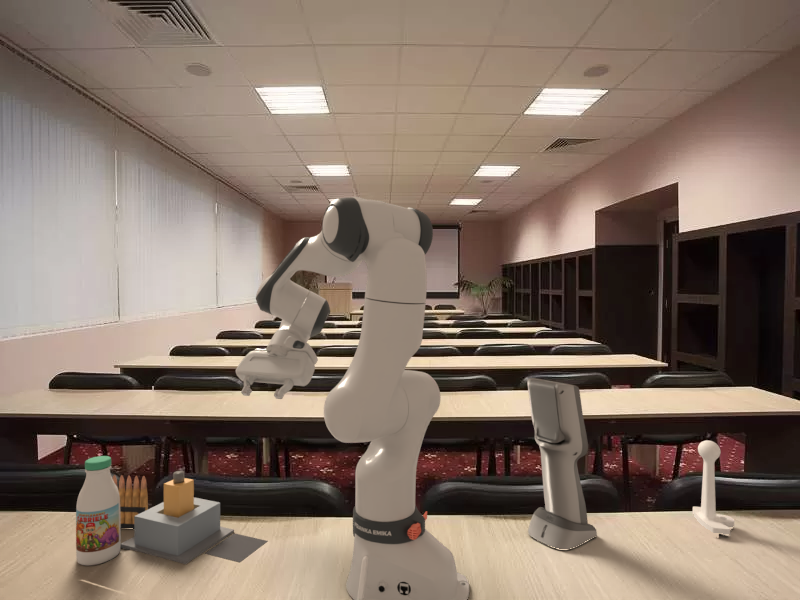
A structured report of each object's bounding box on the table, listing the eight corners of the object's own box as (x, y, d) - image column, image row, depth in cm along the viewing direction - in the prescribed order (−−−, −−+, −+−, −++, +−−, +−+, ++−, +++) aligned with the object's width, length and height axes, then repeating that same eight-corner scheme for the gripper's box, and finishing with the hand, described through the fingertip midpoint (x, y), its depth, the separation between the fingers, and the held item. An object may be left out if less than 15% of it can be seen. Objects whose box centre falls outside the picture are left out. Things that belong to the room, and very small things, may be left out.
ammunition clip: (150, 526, 113) (149, 474, 113) (145, 530, 111) (145, 477, 111) (105, 524, 114) (105, 473, 114) (100, 528, 112) (100, 476, 112)
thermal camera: (519, 532, 111) (520, 377, 110) (554, 517, 118) (556, 372, 118) (563, 555, 101) (565, 386, 100) (599, 537, 109) (601, 379, 108)
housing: (234, 533, 110) (234, 503, 110) (185, 565, 97) (185, 531, 97) (173, 519, 117) (172, 490, 116) (120, 547, 104) (119, 515, 103)
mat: (267, 542, 106) (267, 540, 106) (239, 563, 98) (239, 562, 98) (234, 534, 109) (234, 533, 109) (204, 554, 101) (204, 553, 101)
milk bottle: (79, 551, 102) (79, 455, 102) (122, 543, 105) (121, 450, 105) (73, 570, 95) (72, 467, 95) (118, 561, 98) (118, 462, 98)
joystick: (687, 515, 120) (688, 433, 119) (721, 517, 118) (722, 435, 118) (708, 537, 109) (709, 447, 108) (746, 540, 107) (747, 449, 107)
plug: (193, 533, 108) (193, 470, 108) (178, 543, 104) (178, 477, 104) (179, 530, 109) (179, 468, 109) (163, 539, 106) (163, 474, 105)
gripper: (246, 341, 127) (219, 385, 119) (314, 344, 120) (291, 391, 111) (257, 356, 132) (232, 399, 123) (323, 360, 124) (302, 407, 115)
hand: (260, 396), depth 117 cm, fingers open, 8 cm apart
